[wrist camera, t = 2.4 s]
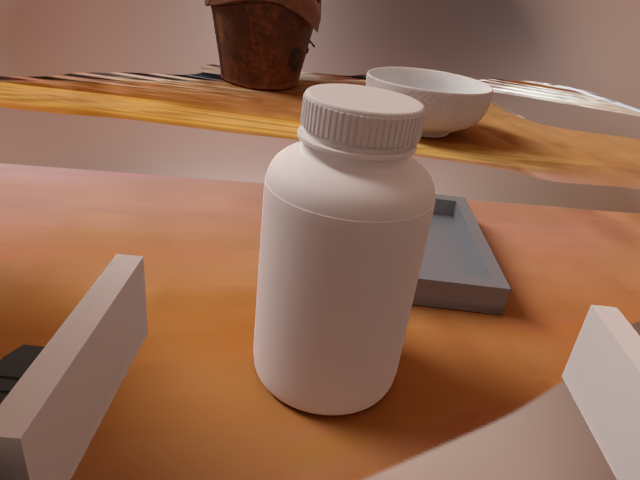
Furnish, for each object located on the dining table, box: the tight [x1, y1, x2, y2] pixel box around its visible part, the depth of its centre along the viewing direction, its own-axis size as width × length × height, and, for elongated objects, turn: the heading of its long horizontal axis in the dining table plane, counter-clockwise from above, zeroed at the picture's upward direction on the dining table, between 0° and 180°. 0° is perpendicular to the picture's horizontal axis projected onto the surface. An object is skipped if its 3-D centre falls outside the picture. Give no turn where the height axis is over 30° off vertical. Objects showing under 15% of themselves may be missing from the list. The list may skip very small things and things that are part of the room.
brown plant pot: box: [205, 0, 321, 90], centre depth 85 cm, size 18×20×18 cm
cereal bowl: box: [366, 67, 493, 138], centre depth 73 cm, size 17×17×7 cm
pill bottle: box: [253, 83, 435, 415], centre depth 26 cm, size 8×8×15 cm
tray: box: [412, 194, 511, 315], centre depth 42 cm, size 15×15×2 cm
